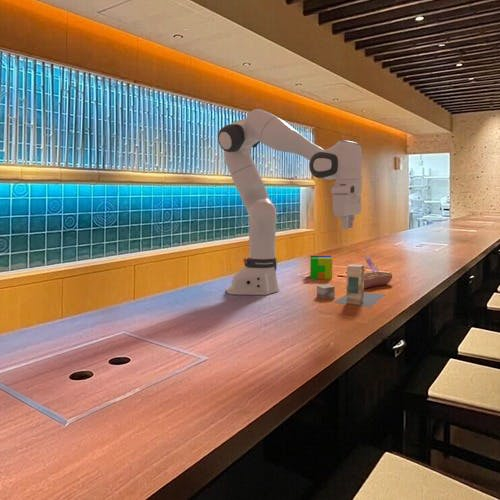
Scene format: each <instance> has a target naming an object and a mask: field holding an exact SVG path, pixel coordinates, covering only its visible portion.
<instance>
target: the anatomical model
mask: <svg viewBox="0 0 500 500" xmlns="http://www.w3.org/2000/svg"><path fill="white" fill-rule="evenodd" d="M392 278H393V273H390V272H384V271H383V272H382V271H379V272H376V271H374V273H373V272H367V273H364V289H368V288H372V287H377V286H379V287H380V286H385V285H388V284H389V283H390V282H391V281H392Z"/></svg>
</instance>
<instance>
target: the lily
mask: <svg viewBox="0 0 500 500" xmlns="http://www.w3.org/2000/svg"><path fill="white" fill-rule="evenodd" d="M366 254H367V258H366V257H365V256H363V257H362V258H363V260H364V261H365V262H366V268H364V272H365V271H366V270H367V269H370V270H371V273H374V272H380V271H379V269H378V268H377V267H376V263H375V262H373V260H372V257H371V256H370V254H369V253H366Z"/></svg>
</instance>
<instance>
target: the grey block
mask: <svg viewBox="0 0 500 500" xmlns="http://www.w3.org/2000/svg"><path fill="white" fill-rule="evenodd" d="M335 287H336V286H334V285H330V284H321V285H319V284H318V285H316V297H317V298H318V299H320V300H331V299H335V298H336V297H335V296H336V295H335V294H336V293H335V292H336V291H335V290H336V288H335Z"/></svg>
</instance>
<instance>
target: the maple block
mask: <svg viewBox="0 0 500 500" xmlns="http://www.w3.org/2000/svg"><path fill="white" fill-rule="evenodd" d="M364 270H365V265H364V264H355V263H350V264H348V265H347V266H346V294H347V300H346V303H352V304H361V303H362V302H363V301H364V293H365V290H364V274H365V271H364Z"/></svg>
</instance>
